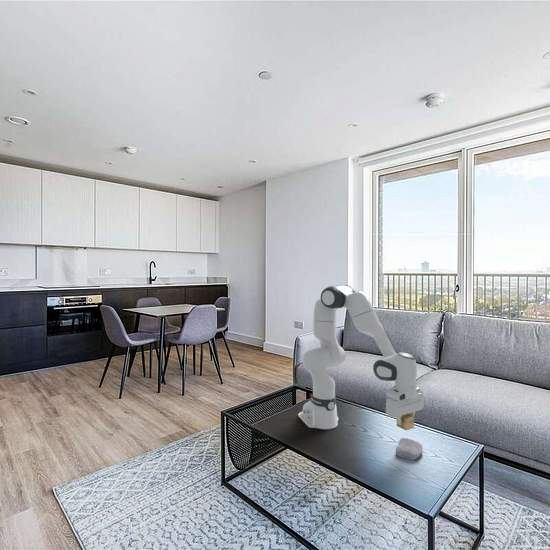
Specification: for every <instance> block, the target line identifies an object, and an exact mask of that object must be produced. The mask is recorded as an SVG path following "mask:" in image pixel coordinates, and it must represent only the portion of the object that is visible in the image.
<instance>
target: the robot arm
mask: <svg viewBox="0 0 550 550" xmlns="http://www.w3.org/2000/svg"><path fill="white" fill-rule="evenodd" d="M313 308H314V309H313V336H314V337H315V338H316V339H317V340H319V344H320V347H316V348H312V349H309V350H307V351H305V352H304V353H303V355H302V360H301V361H302V365H303V367H304V368H305V369H306V371H308V373H309V374H310V376H311V379H312V393H310V394H309V396H310V397H311V398H310V400H308V401H307V402H306V403H304V404H303V406H302V411H300V412H299V413H298V414H297V416H298V418H299V419H300V420H302V422H303V423H304V424H305V425H306V426H307V427H308V428H310V429H314V428H315V429H320V430H331V429H334V428H336V427H338V425H339V423H338V422H339V420H340V419H339V417H338V409H337V404H336V403H337V401H336V400H337V397H336V381H335V380H334V378H333V377H332V376H330V374H329V369H331V368H337V367H338V366H340V365H341V364H343V363H344V362H345V361H346V358H347V357H346V351H345V350H344V348H343V347H342V346H341V345H340V344H339V341H338V339H337V334H336V333H337V331H336V312H337V310H338V309H343V308H345V309H346V310H347V311H348V313H349V315H350V317H351V320H352V323H353V325H354V326H355V328H356V330H357V331H359V332H360V333H361V334H364V335H368V336H369V337H370V338H372V339H374V341H375V343H376V345H377V346H378V348H379V350H380V352H381V354H382V358H380V359H377V360H376V361H375V362H374V363H373V364H372V365H373V367H372V369H373V370H372V371H373V374H374V376H375V377H376V378H377V379H378V380H381V381H383V382H384V381H386V382H392V381H393V382H394V385H393V386H392V387H391V388H390V389H388V390H387V391H386V393H385V394H386V395H385V396H386V397H387V398H386V401H385V413H386V416H388V417H390V418H392V419H394V418H396V425H397V424H398V425H403V421H402V420H401V416H402V415H405V414H410V415H412V416H414V417H415V415H416V412H417V411H421V410H423V409H424V406H425V405H424V403H425V402H424V396H423V395H424V394H423V390H422V389H421V388H420V387H418V385H417V374H418V372H417V371H418V369H417V368H418V367H417V361H416V358H415V356H413V355H412V354H410V353H407V352H401V351H400V352H398V351H397V350H396V348H395V346H394V344H393V342H392V341H391V338H390V336H389V335H388V333H387V331H386V330H385V327H384V326H383V325H382V323H381V321H380V319H379V318H378V315H377V313H376V312H375V309H374V306H373V305H372V302H371V301H370V299H369V298H368V296H367V294H366V293H365V292H363V291H356V290H355V288H353V286H351V285H348V284H337V285H331V286H328V287H326V288H324V289H323V290H322V291H321V293H320V298H319V299H316V301H315V303H314V307H313Z"/></svg>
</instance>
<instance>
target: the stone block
mask: <svg viewBox="0 0 550 550" xmlns="http://www.w3.org/2000/svg"><path fill="white" fill-rule="evenodd" d="M423 452H424V450H423V445H422V444H421V443H420V442H418V441H416V440H414V439H412V438H408V437H400V438H399V440H398V444H397V446H396V449H395V455H396V456H397V457H399V458H402V459H407V460H410V461H411V462H412V461H415V460H416V459H418V458H419V457H420V456H421V455H422V454H423Z"/></svg>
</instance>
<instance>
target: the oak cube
mask: <svg viewBox="0 0 550 550" xmlns="http://www.w3.org/2000/svg"><path fill="white" fill-rule="evenodd" d="M401 420H402V421H403V425H398V424H397V423H396V427H398V428H400V429H402V430H404V431H409V430H413V429H414V428H415V415H414V416H412V415H410V413H408V414H405V415H402V416H401Z"/></svg>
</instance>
